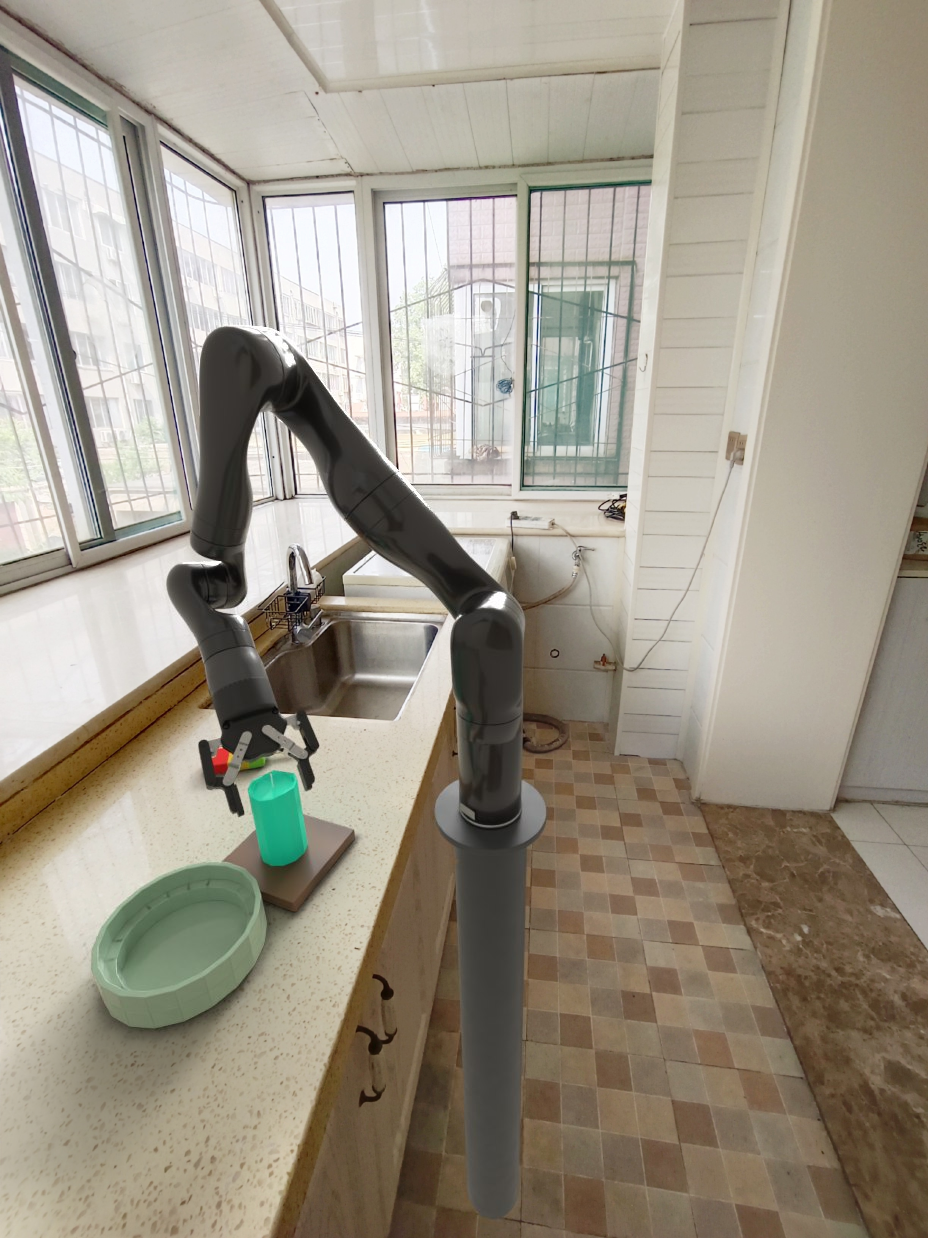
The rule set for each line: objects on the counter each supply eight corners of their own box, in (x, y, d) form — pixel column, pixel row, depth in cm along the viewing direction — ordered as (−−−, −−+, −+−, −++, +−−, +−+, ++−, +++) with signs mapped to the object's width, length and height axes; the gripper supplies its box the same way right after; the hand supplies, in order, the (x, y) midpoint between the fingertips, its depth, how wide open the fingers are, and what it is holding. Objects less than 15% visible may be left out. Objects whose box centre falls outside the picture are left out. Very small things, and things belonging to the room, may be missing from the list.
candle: (316, 848, 72) (304, 773, 68) (274, 874, 68) (259, 796, 64) (293, 826, 76) (281, 753, 71) (252, 849, 72) (236, 774, 68)
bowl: (194, 877, 70) (186, 847, 68) (296, 917, 64) (291, 885, 62) (67, 995, 56) (53, 961, 54) (183, 1060, 50) (171, 1024, 48)
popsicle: (211, 758, 94) (208, 748, 93) (300, 743, 98) (299, 734, 97) (205, 777, 89) (203, 767, 88) (300, 761, 93) (298, 752, 92)
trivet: (281, 814, 80) (279, 806, 80) (355, 837, 75) (354, 829, 75) (212, 881, 69) (210, 872, 68) (294, 913, 64) (293, 903, 64)
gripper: (181, 693, 67) (217, 820, 62) (295, 663, 74) (335, 775, 70) (184, 712, 73) (216, 829, 68) (289, 683, 80) (325, 787, 76)
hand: (276, 802), depth 69 cm, fingers open, 8 cm apart
